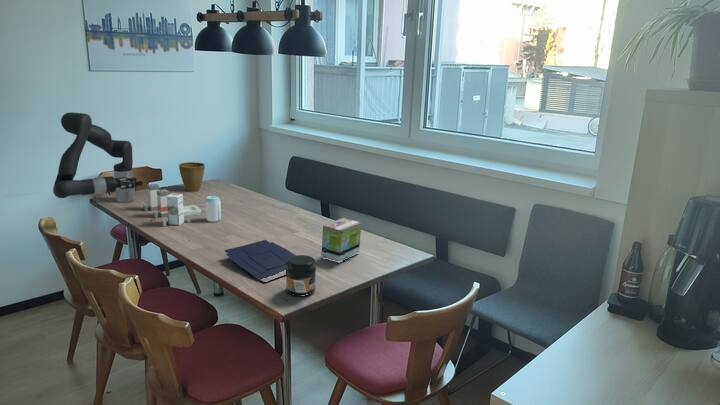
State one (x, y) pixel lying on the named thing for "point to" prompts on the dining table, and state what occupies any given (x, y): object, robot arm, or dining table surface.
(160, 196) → the marked fuse
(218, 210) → the can
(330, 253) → the tea box
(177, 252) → the dining table surface
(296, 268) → the supplement container
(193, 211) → the tray
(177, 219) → the syrup box
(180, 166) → the plant pot
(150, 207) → the block
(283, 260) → the dark blue book
